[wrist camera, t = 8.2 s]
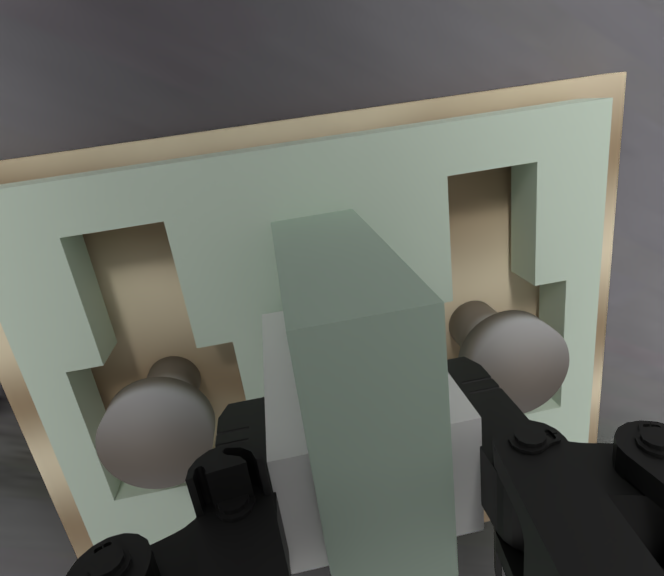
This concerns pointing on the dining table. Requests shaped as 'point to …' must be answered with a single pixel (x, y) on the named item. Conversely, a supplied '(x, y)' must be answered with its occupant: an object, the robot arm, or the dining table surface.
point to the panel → (245, 266)
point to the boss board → (220, 360)
